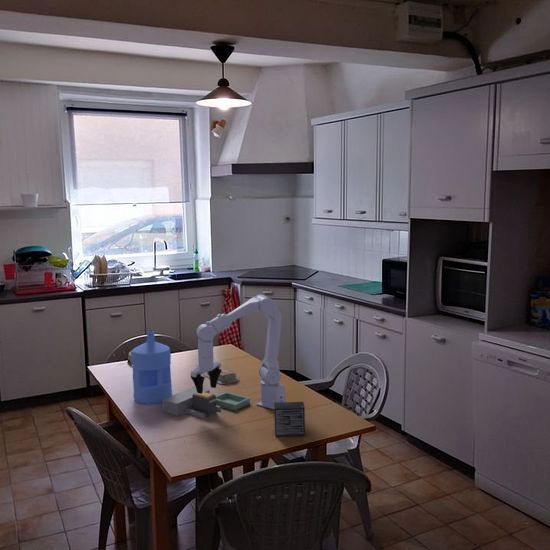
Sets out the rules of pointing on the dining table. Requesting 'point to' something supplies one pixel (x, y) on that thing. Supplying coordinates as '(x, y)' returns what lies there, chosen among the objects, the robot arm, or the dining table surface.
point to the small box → (289, 419)
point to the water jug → (151, 371)
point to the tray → (232, 401)
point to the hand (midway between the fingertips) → (206, 390)
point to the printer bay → (183, 403)
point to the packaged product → (224, 376)
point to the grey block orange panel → (204, 403)
